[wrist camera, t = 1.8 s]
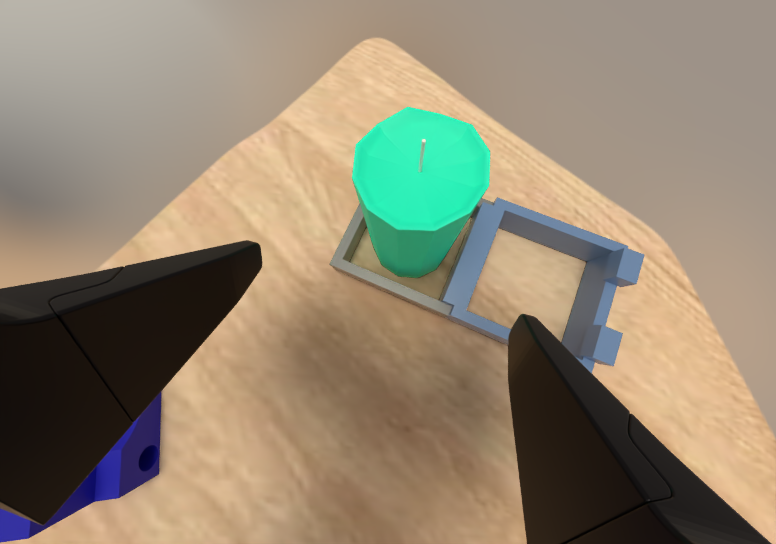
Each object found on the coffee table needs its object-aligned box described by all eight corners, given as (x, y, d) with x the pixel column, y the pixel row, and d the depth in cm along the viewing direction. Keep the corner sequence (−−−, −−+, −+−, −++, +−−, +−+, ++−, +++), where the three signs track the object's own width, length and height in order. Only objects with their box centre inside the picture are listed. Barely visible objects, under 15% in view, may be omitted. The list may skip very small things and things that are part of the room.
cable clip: (161, 472, 19) (58, 534, 14) (98, 482, 20) (-31, 546, 14) (165, 304, 22) (80, 294, 16) (110, 312, 22) (6, 305, 16)
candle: (464, 245, 22) (540, 146, 10) (406, 294, 21) (416, 249, 9) (414, 192, 23) (430, 48, 11) (358, 237, 22) (312, 134, 11)
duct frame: (602, 258, 21) (648, 242, 17) (567, 371, 20) (609, 381, 16) (382, 174, 23) (379, 143, 19) (335, 270, 22) (321, 256, 18)
